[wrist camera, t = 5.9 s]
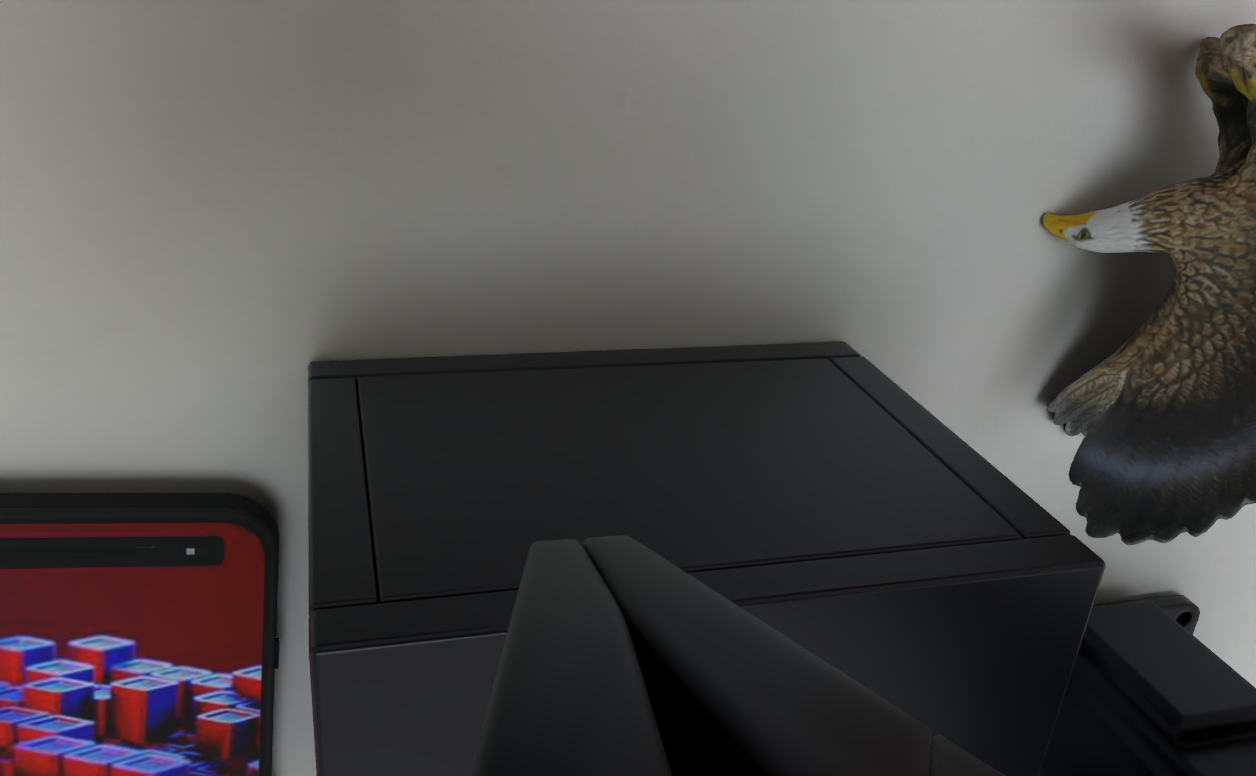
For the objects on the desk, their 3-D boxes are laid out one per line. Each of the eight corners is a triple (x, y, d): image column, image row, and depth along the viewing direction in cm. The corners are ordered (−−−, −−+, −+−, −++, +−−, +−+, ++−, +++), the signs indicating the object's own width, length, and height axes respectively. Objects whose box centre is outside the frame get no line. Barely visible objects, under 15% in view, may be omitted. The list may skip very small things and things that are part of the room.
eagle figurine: (986, 35, 18) (957, 518, 20) (1520, 0, 14) (1404, 626, 16) (1124, 46, 24) (1089, 425, 26) (1538, 23, 19) (1450, 486, 21)
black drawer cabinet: (770, 765, 26) (941, 1089, 19) (334, 834, 23) (346, 1245, 16) (846, 339, 21) (1109, 563, 14) (307, 359, 18) (308, 651, 11)
